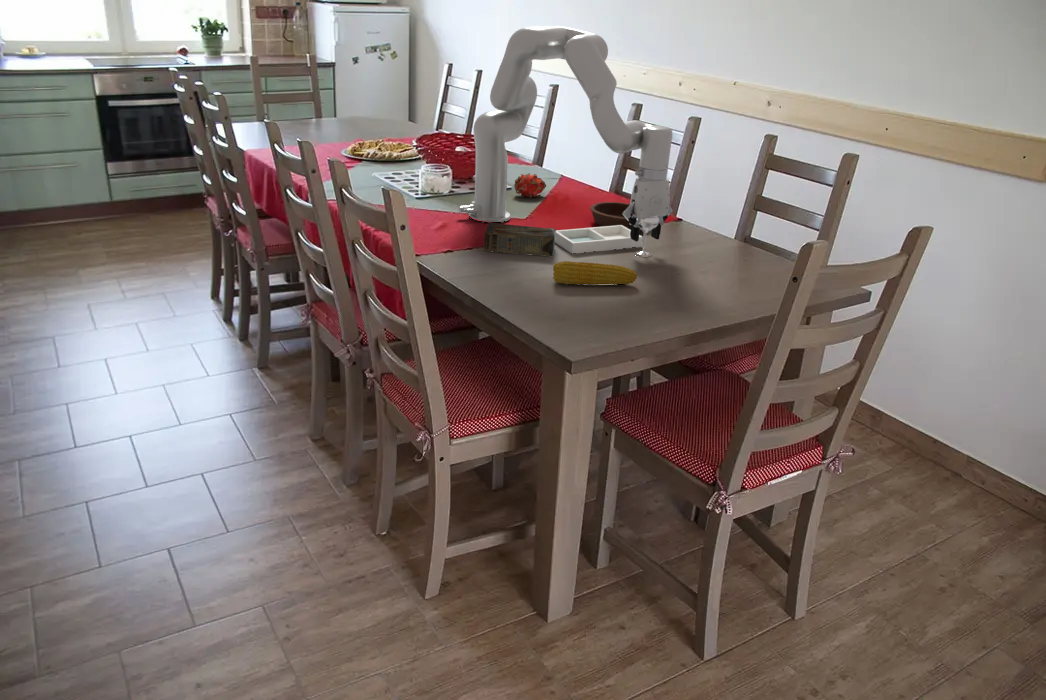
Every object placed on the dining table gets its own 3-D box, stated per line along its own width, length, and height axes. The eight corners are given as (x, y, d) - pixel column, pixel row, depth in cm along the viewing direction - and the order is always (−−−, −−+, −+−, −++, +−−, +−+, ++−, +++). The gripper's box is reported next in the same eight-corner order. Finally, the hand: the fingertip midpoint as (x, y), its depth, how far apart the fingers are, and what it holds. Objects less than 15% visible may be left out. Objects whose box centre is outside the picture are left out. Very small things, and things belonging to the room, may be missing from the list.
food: (554, 288, 203) (555, 265, 200) (550, 280, 208) (552, 257, 205) (638, 289, 205) (640, 266, 203) (632, 281, 210) (635, 259, 208)
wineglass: (627, 255, 228) (632, 213, 223) (634, 248, 234) (638, 207, 228) (651, 259, 226) (657, 217, 221) (657, 252, 231) (663, 211, 226)
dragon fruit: (509, 201, 277) (541, 204, 283) (520, 192, 270) (553, 195, 275) (507, 177, 279) (539, 181, 284) (518, 167, 271) (551, 171, 277)
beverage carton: (553, 258, 223) (555, 234, 220) (482, 253, 224) (483, 229, 221) (554, 248, 230) (556, 226, 228) (486, 244, 231) (486, 221, 228)
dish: (619, 239, 242) (621, 222, 240) (573, 218, 258) (574, 203, 256) (663, 231, 251) (665, 215, 249) (616, 212, 268) (617, 197, 265)
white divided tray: (572, 253, 227) (572, 243, 225) (553, 240, 236) (553, 230, 235) (641, 246, 236) (642, 236, 234) (620, 234, 245) (621, 224, 244)
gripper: (632, 179, 214) (624, 245, 221) (687, 175, 220) (678, 240, 228) (617, 172, 220) (610, 237, 227) (671, 169, 227) (663, 232, 234)
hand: (644, 238), depth 228 cm, fingers closed on wineglass, 6 cm apart
